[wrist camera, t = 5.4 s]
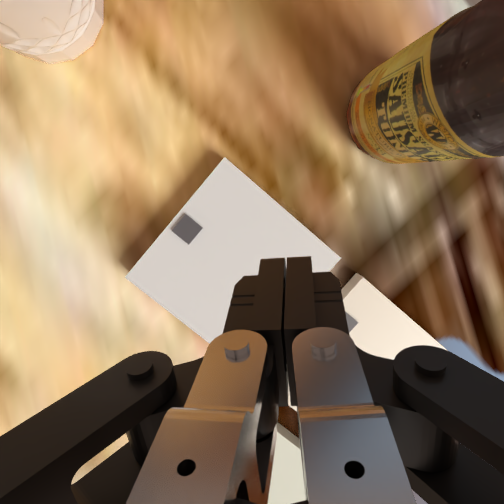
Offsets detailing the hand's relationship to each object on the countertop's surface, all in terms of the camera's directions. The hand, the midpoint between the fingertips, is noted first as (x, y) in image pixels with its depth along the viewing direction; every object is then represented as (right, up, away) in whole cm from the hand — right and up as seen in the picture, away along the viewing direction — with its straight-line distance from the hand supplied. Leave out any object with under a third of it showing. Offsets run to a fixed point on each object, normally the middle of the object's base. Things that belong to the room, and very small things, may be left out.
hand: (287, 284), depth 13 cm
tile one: (-2, 0, +16) cm, 16 cm away
